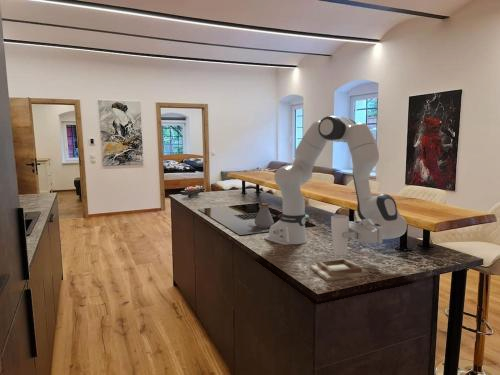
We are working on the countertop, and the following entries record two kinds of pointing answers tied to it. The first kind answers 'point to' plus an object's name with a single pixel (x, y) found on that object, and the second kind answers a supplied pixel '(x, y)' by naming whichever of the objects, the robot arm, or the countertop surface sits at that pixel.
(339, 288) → the countertop surface
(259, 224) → the coffee pot
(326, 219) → the countertop surface
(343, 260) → the holder board
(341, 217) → the drinking glass
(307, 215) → the donut
